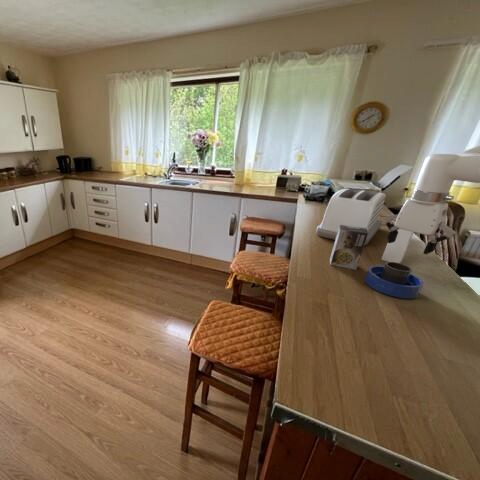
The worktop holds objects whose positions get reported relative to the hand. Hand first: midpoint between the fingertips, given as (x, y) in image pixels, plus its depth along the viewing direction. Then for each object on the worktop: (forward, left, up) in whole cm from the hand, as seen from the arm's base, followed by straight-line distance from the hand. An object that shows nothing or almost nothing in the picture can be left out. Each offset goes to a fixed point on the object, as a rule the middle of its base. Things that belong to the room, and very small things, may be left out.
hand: (408, 247), depth 84 cm
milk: (+12, -26, -16) cm, 33 cm away
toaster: (+42, -45, -16) cm, 64 cm away
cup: (0, 0, -15) cm, 15 cm away
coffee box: (+18, -2, -16) cm, 24 cm away
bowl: (0, 0, -16) cm, 16 cm away
